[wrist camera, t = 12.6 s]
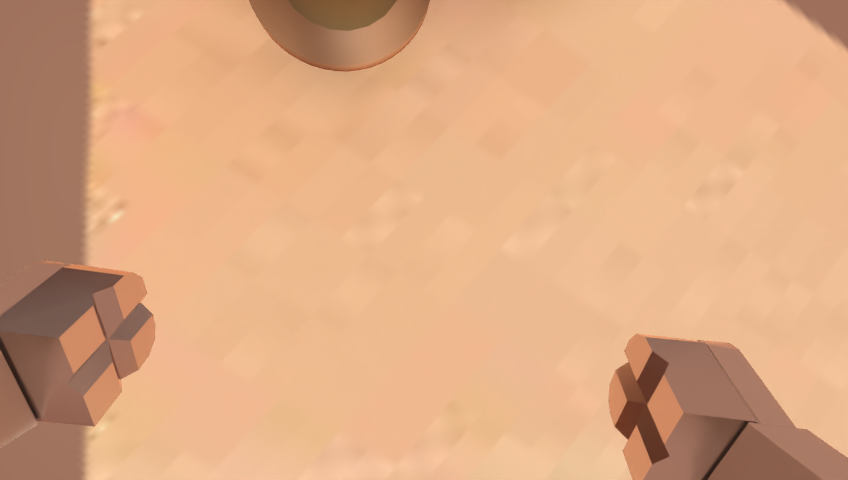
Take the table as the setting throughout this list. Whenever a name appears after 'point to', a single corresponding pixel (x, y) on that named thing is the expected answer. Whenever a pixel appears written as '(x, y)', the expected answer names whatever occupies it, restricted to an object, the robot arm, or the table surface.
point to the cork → (343, 12)
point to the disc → (341, 35)
